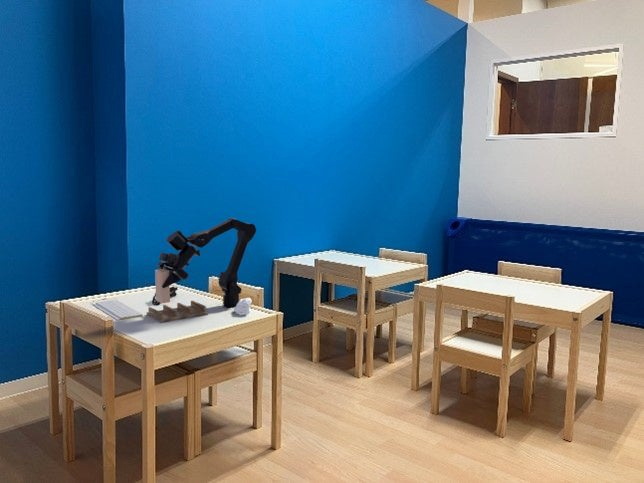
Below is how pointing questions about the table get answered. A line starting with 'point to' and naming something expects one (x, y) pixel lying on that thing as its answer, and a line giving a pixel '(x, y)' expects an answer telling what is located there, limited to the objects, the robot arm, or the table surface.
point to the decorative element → (172, 293)
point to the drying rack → (177, 312)
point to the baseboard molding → (117, 309)
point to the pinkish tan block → (161, 292)
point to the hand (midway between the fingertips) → (159, 286)
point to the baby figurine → (243, 306)
